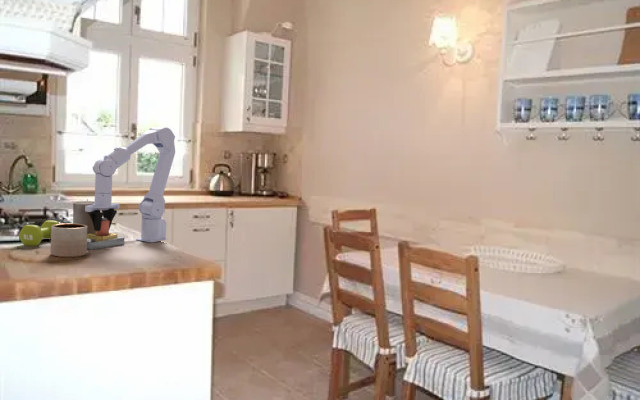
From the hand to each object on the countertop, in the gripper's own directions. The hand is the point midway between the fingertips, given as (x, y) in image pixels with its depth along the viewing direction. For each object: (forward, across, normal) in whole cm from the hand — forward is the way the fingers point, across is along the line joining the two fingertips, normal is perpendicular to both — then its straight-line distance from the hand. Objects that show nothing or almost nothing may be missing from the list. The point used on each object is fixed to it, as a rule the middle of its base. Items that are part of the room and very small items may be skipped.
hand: (102, 229), depth 200 cm
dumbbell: (+6, +12, -16) cm, 21 cm away
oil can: (+2, 0, 0) cm, 2 cm away
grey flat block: (+5, +3, 0) cm, 6 cm away
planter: (+6, +20, +6) cm, 22 cm away
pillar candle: (+5, -5, -13) cm, 15 cm away
